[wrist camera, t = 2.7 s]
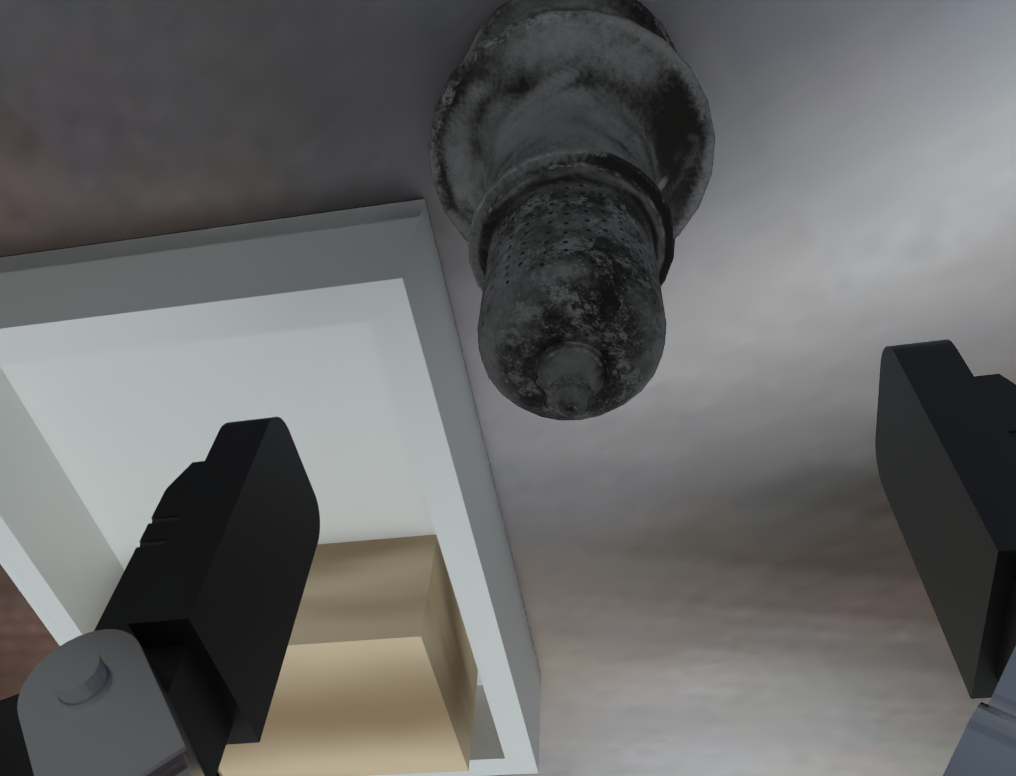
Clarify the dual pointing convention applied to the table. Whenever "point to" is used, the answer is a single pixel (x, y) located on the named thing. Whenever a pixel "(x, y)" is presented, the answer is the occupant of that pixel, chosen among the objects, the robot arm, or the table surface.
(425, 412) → the tray
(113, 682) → the robot arm
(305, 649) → the oak block
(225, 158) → the table surface
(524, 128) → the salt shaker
